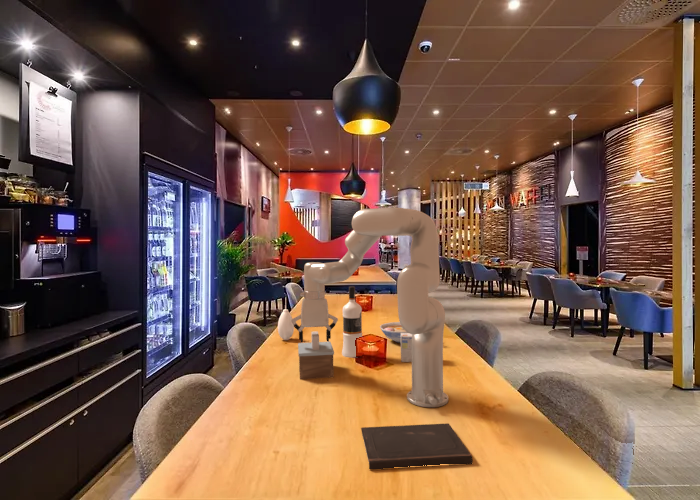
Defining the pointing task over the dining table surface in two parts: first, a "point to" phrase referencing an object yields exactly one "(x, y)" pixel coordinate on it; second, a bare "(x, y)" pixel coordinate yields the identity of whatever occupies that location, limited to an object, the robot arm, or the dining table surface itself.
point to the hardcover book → (413, 446)
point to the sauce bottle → (285, 325)
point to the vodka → (351, 324)
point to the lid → (315, 347)
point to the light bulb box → (406, 347)
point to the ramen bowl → (393, 331)
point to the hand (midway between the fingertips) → (314, 341)
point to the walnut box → (316, 366)
